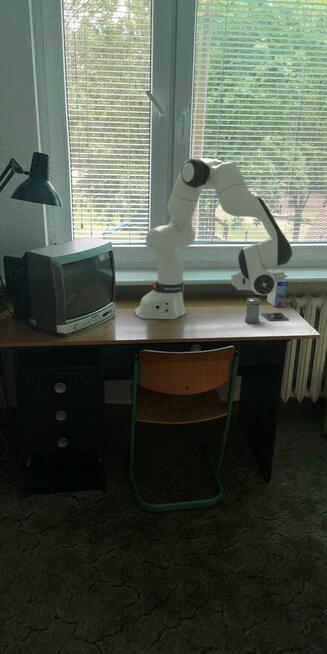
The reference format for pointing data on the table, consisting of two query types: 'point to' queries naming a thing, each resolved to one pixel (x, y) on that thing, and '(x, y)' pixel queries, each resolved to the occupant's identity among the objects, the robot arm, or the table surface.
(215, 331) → the table surface
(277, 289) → the ink cartridge box
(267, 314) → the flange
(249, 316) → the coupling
